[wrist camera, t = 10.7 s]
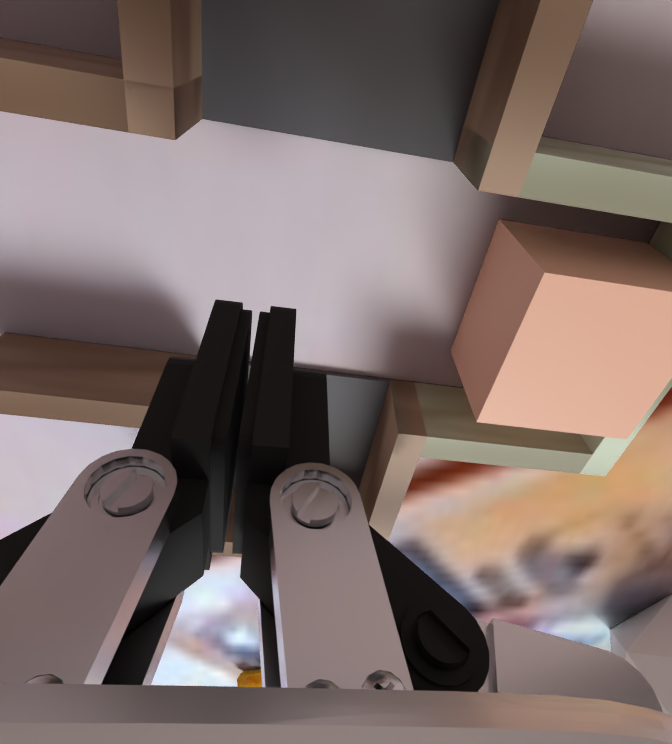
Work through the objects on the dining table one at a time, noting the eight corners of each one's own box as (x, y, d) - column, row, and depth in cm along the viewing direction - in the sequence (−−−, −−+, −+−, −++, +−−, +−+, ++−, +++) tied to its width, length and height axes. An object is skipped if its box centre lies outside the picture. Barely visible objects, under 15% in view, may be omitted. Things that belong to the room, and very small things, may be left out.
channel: (-252, -525, 7) (-527, -783, 5) (942, -186, 10) (1143, -253, 7) (48, 481, 22) (13, 539, 19) (508, 522, 24) (529, 579, 21)
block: (497, 217, 15) (544, 272, 12) (644, 241, 15) (727, 300, 12) (449, 349, 18) (476, 422, 15) (574, 365, 18) (627, 439, 15)
